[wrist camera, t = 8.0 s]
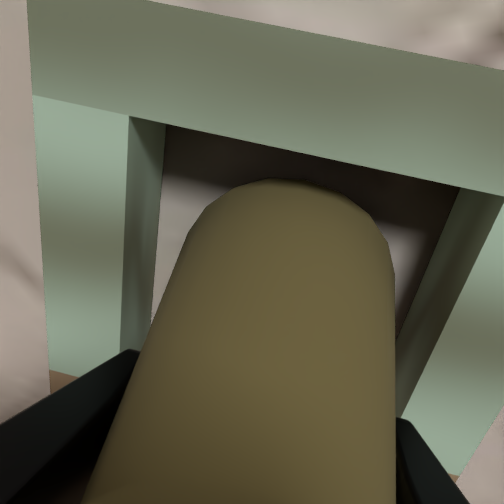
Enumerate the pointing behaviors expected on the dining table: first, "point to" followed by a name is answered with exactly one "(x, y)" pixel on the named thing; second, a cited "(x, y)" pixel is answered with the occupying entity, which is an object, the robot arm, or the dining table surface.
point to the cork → (264, 362)
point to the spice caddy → (276, 135)
